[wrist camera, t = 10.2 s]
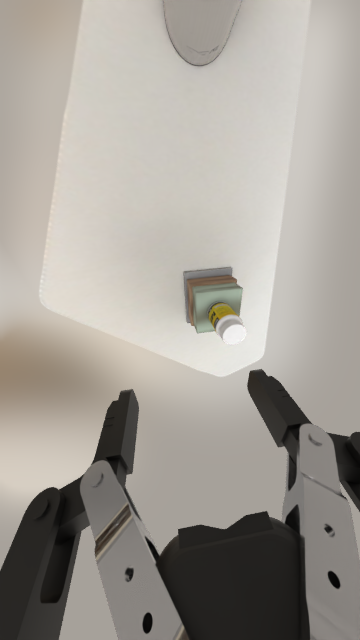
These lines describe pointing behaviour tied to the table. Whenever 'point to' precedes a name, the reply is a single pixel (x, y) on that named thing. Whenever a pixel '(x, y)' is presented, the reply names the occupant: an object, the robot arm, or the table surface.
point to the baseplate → (203, 275)
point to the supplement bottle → (226, 323)
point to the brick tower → (211, 298)
